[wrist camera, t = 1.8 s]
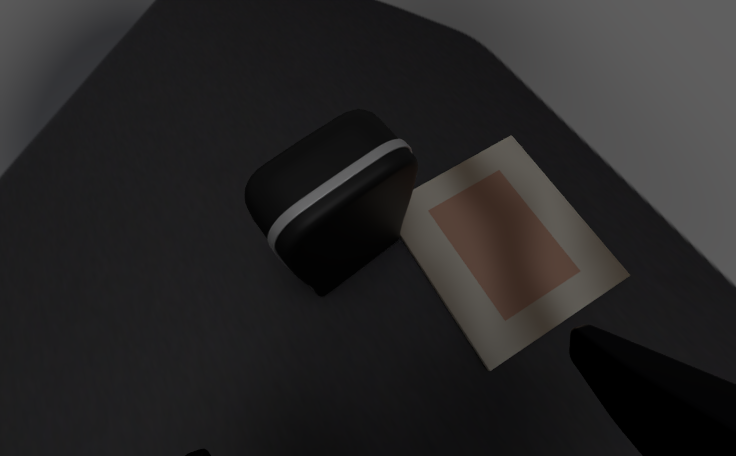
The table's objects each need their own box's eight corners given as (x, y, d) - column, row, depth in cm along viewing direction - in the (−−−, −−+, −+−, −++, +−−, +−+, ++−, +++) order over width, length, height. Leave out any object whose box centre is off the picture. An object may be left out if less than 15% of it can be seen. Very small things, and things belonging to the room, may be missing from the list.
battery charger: (368, 196, 25) (367, 76, 14) (403, 237, 24) (431, 142, 13) (285, 255, 24) (212, 174, 13) (318, 301, 23) (270, 255, 12)
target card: (487, 370, 21) (490, 371, 21) (382, 209, 25) (382, 206, 24) (626, 276, 23) (630, 275, 23) (509, 138, 26) (511, 135, 26)
